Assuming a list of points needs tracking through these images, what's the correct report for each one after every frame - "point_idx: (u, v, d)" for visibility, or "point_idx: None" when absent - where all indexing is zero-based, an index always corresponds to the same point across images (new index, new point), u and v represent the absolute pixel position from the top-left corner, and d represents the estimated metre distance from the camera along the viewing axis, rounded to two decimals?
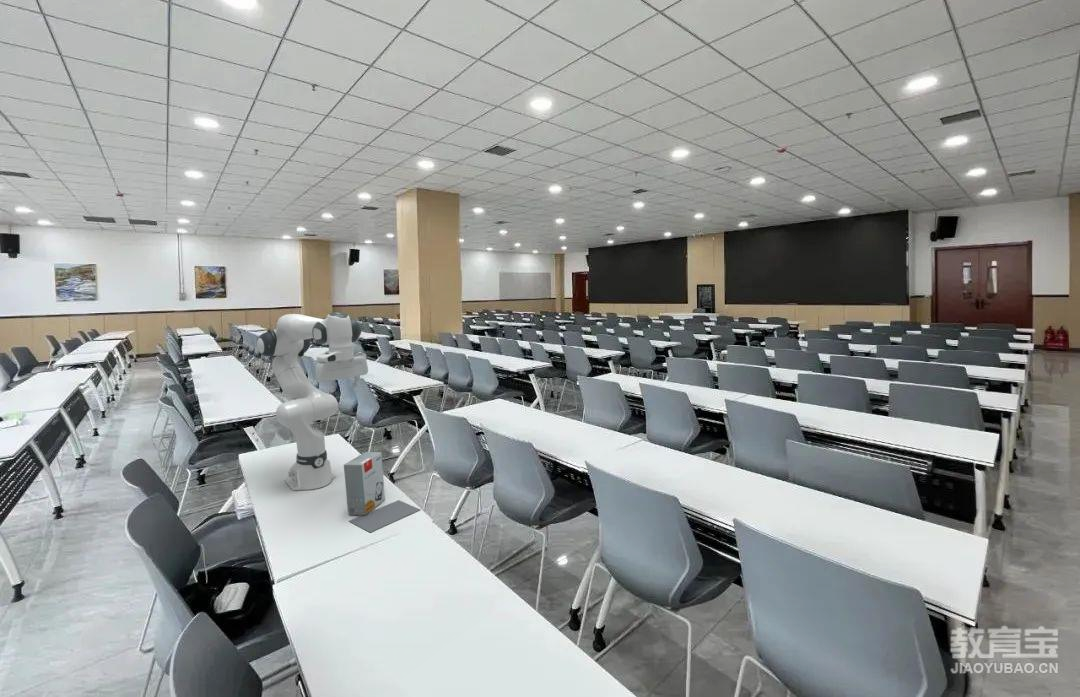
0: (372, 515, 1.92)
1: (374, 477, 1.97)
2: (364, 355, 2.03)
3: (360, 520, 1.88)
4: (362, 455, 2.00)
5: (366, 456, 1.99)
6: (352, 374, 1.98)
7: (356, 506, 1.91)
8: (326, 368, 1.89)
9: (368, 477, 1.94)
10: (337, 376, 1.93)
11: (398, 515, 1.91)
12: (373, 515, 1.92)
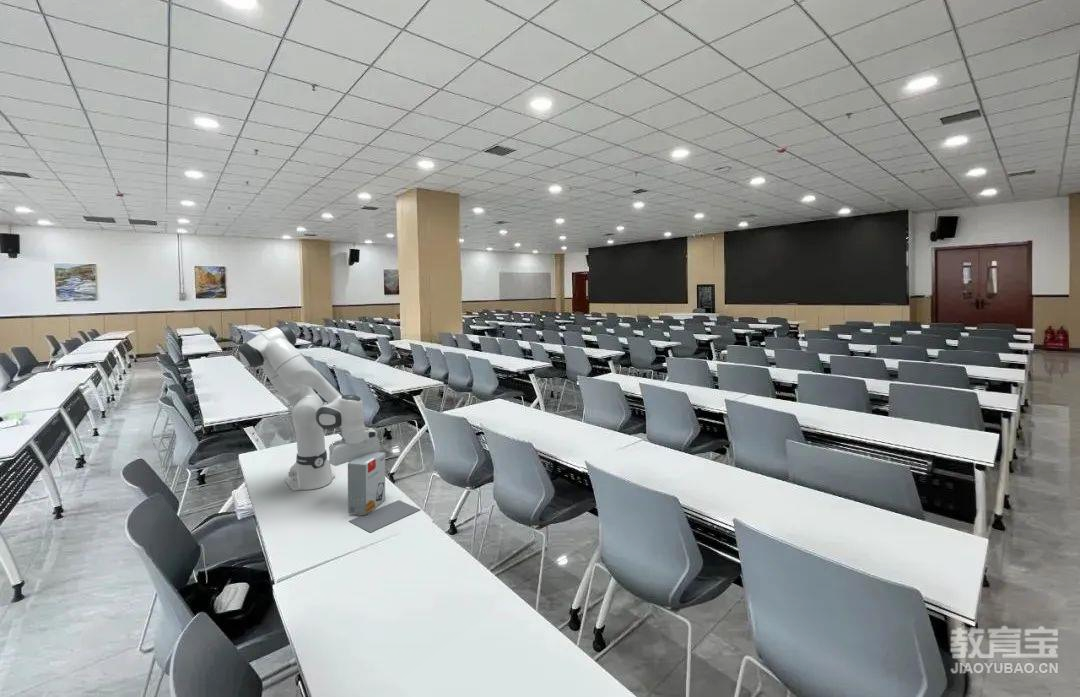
0: (372, 515, 1.92)
1: (376, 478, 1.98)
2: None
3: (360, 520, 1.88)
4: (366, 454, 2.00)
5: (370, 456, 1.99)
6: None
7: (357, 505, 1.91)
8: None
9: (371, 477, 1.94)
10: None
11: (398, 515, 1.91)
12: (373, 515, 1.92)
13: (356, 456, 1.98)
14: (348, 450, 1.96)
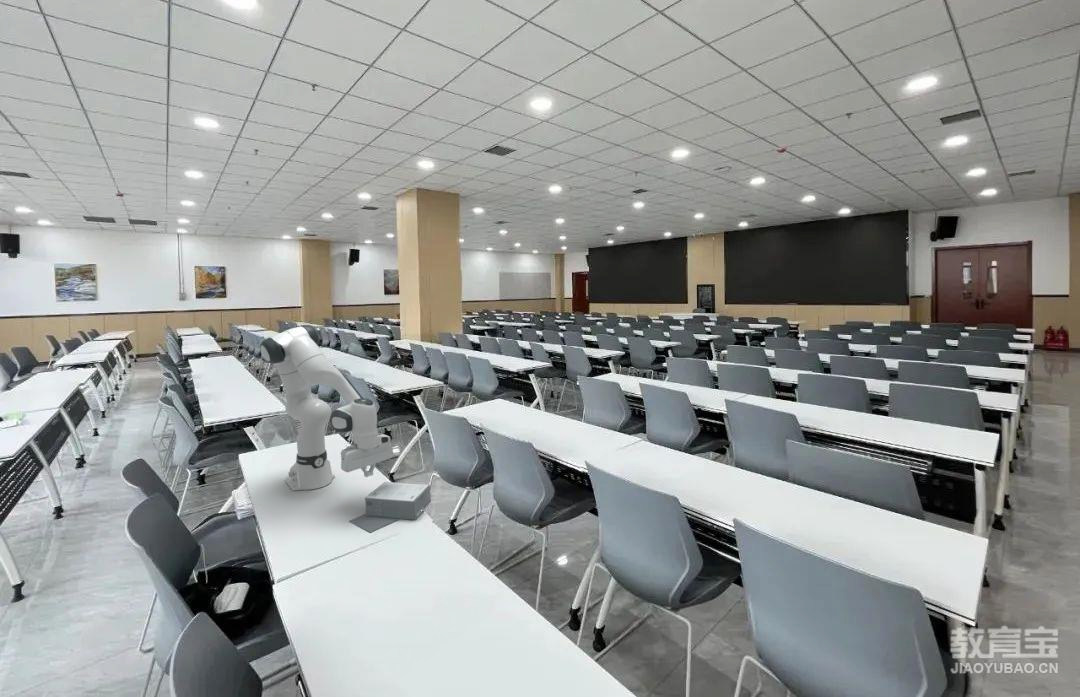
0: None
1: None
2: None
3: (360, 520, 1.88)
4: (425, 493, 1.97)
5: (425, 500, 1.96)
6: None
7: (373, 508, 1.90)
8: None
9: None
10: None
11: None
12: None
13: (368, 462, 1.92)
14: (360, 456, 1.89)
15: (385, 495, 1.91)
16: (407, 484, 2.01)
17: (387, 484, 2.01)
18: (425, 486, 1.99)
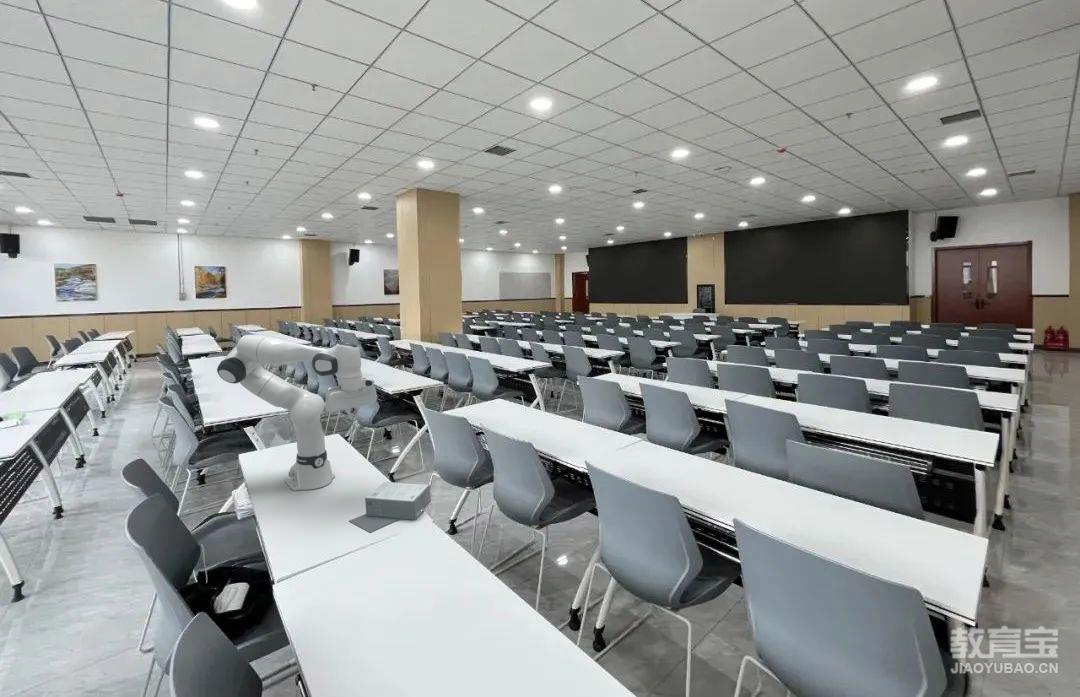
0: None
1: None
2: None
3: (360, 520, 1.88)
4: (425, 493, 1.97)
5: (425, 500, 1.96)
6: None
7: (373, 508, 1.90)
8: None
9: None
10: None
11: None
12: None
13: (352, 404, 1.95)
14: (344, 397, 1.93)
15: (385, 495, 1.91)
16: (407, 484, 2.01)
17: (387, 484, 2.01)
18: (425, 486, 1.99)
